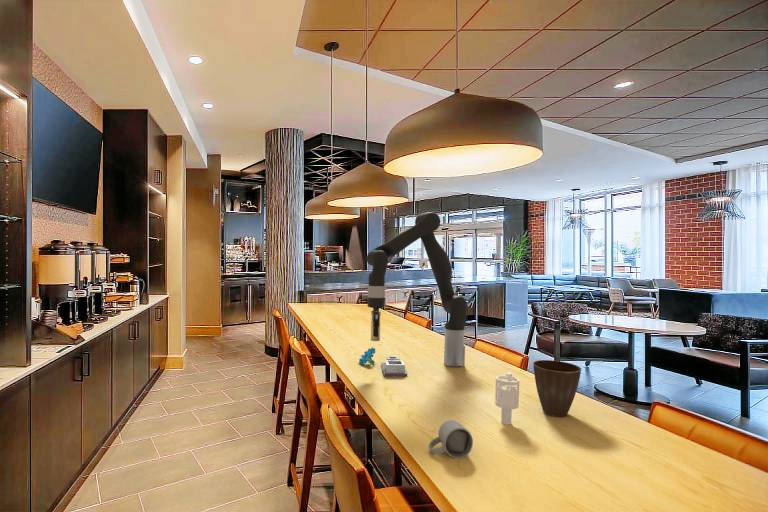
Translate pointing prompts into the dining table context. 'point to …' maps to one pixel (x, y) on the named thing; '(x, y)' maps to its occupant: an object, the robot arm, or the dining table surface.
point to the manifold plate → (393, 367)
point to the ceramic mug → (452, 440)
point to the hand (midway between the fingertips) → (375, 335)
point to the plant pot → (556, 385)
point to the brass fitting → (372, 333)
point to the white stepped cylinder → (507, 396)
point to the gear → (367, 357)
